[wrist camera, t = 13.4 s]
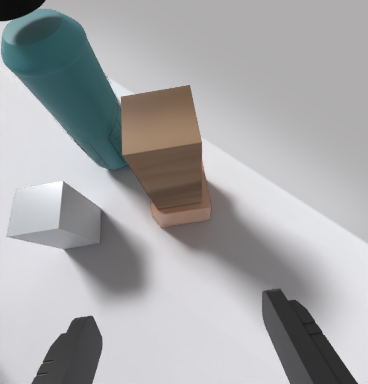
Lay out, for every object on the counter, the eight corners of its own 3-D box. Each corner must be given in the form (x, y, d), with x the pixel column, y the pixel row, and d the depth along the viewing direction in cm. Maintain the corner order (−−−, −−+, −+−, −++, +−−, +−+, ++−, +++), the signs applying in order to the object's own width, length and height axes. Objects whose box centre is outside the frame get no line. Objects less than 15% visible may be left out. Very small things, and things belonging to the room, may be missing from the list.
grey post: (100, 243, 25) (58, 228, 17) (63, 249, 25) (6, 236, 17) (100, 208, 27) (63, 181, 19) (66, 213, 27) (15, 188, 19)
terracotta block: (209, 220, 25) (211, 207, 20) (160, 227, 25) (151, 216, 21) (201, 176, 27) (201, 156, 23) (156, 183, 27) (147, 164, 23)
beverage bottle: (150, 160, 29) (62, -49, 10) (108, 185, 28) (-74, 1, 9) (129, 130, 31) (27, -84, 13) (89, 152, 30) (-84, -47, 12)
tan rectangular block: (201, 202, 21) (201, 142, 11) (157, 209, 21) (122, 155, 12) (194, 164, 22) (189, 85, 13) (154, 171, 22) (120, 96, 13)
